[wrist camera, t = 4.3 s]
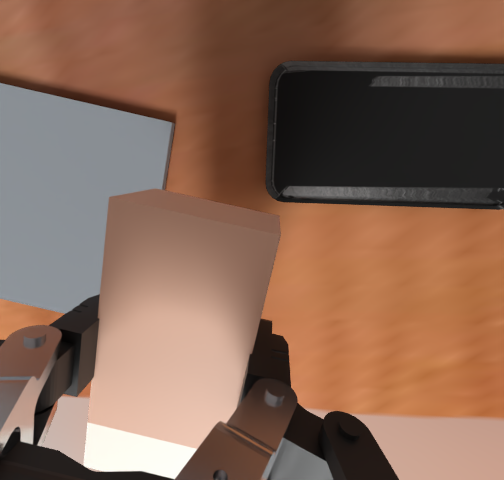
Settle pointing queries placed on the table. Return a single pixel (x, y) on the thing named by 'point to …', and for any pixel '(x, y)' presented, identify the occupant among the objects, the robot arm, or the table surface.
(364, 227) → the table surface
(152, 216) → the white-tipped pink eraser
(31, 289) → the mat
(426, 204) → the phone
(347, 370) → the table surface
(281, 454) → the robot arm
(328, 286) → the table surface
